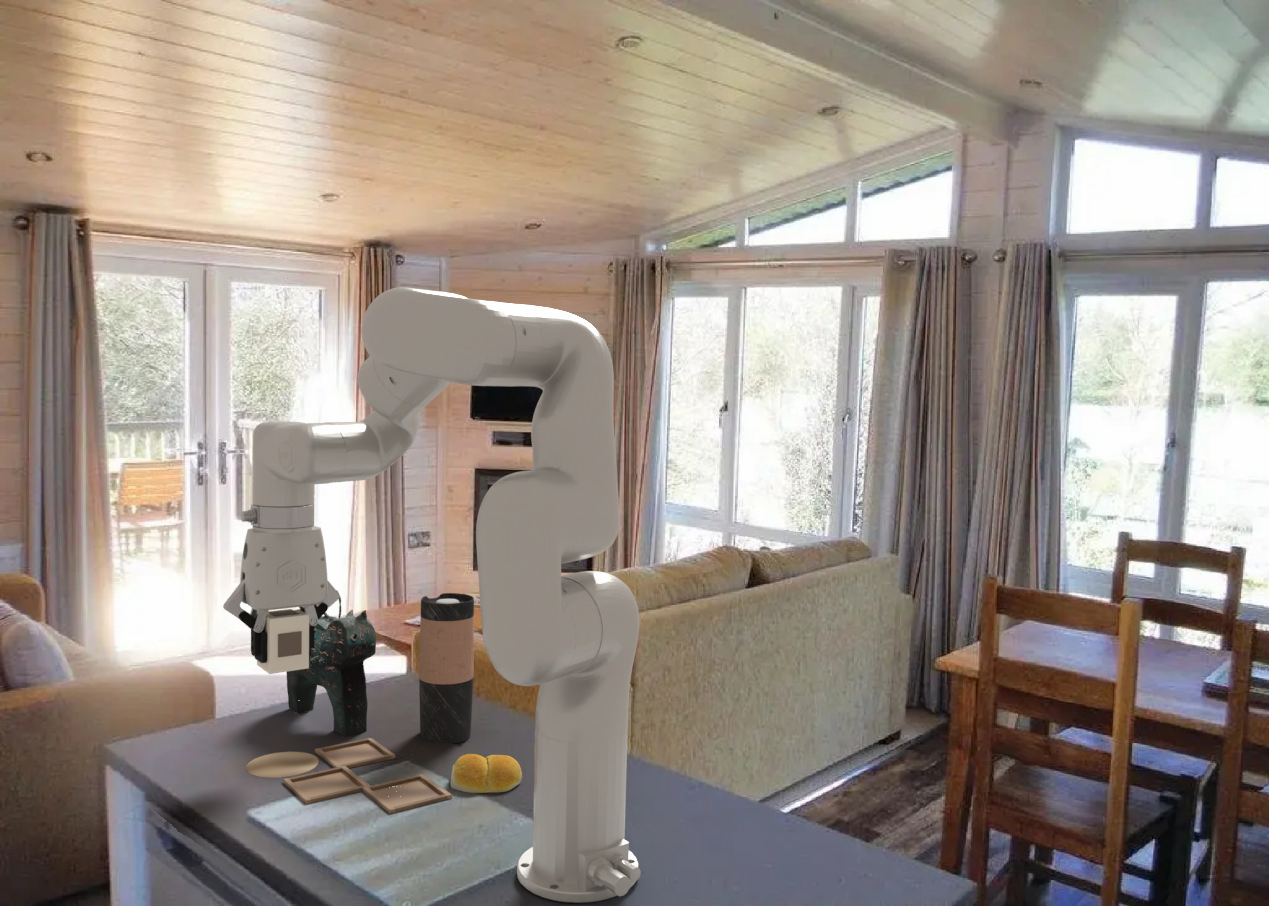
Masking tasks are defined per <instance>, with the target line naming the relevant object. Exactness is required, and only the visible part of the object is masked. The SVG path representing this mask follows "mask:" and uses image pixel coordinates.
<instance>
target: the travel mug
mask: <svg viewBox="0 0 1269 906" xmlns="http://www.w3.org/2000/svg"><path fill="white" fill-rule="evenodd" d="M419 620H420V624H419V626H420V629H419V630H420V632H419V667H418V668H419V671H418V684H419V685H418V686H419V693H418V694H419V733H420V734H419V735H420V737H421V738H422V739H423V740H426V741H429V742H434V743H435V742H436V743H452V744H454V745H455V744H459V743H462V742H465V741H467V740H469V738H470V737H471V734H472V717H473V694H474V676H475V675H474V674H475V673H474V670H475V669H474V668H475V667H474V666H475V665H474V661H475V659H474V657H475V654H474V653H475V651H474V649H475V648H474V647H475V598H474V596H472V595H469V594H464V593H457V592H456V593H454V592H445V593H441V594H440V595H439V596H437V597H431V598H430V597H428V595H424V596H423V597H421V599H420V619H419Z"/></svg>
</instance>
